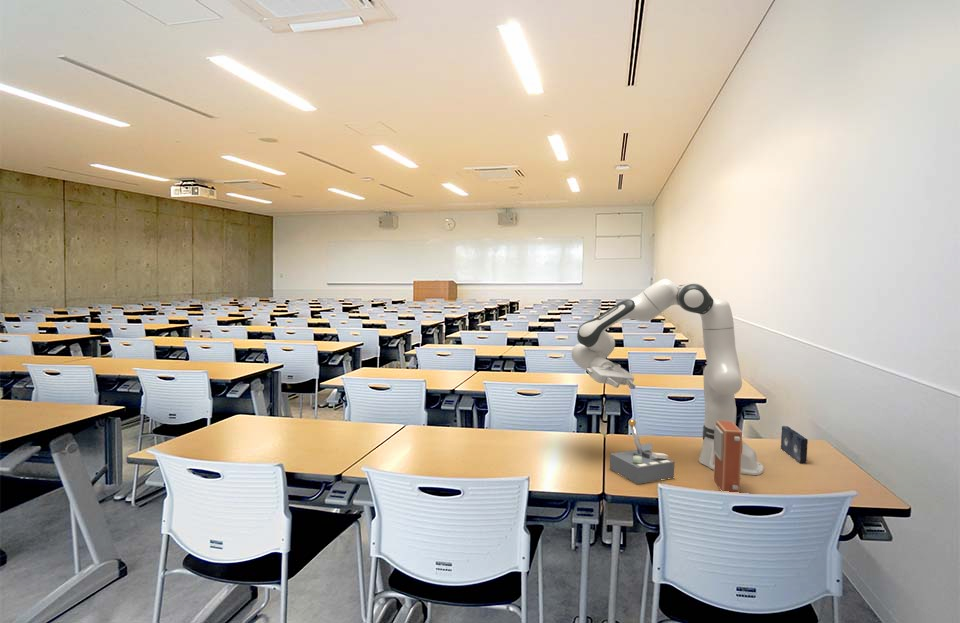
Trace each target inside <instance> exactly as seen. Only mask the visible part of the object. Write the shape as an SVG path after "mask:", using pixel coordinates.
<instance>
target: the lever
mask: <svg viewBox="0 0 960 623" xmlns="http://www.w3.org/2000/svg"><path fill="white" fill-rule="evenodd" d="M636 424H637V421H636V420H635V419H629V420H628V425H629V426H630V430H631V433H632V437H633V441H634V443H635V447H636V450H637V451H638V454H642V453H643V451H642V447H641V445H642V444H641V441H640V436H639V433H638V430H637V426H636Z"/></svg>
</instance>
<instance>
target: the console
mask: <svg viewBox="0 0 960 623" xmlns="http://www.w3.org/2000/svg"><path fill="white" fill-rule="evenodd" d="M652 453H654V452H653V451H652V450H647V451H643V453H642V454H638V451H637V449H630V450H625V451H619V452H612V453H611V452H610V453H609V470H610V469H611V470H610V471H612V470H613V471H612V472H614V471H615V472H614V473H616V472H617V473H619V474H620V475H619V474H618V475H619V476H621V475H622V476H621V477H623V476H624V477H623V478H625V477H626V478H627V479H626V478H625V479H626V480H628V479H629V480H628V481H630V480H631V481H630V482H632V483H634V484H635V483H636V485H637V484H639V485H643V484H642V483H645V484H648V483H647V482H650V483H653V482H652V481H656V482H660V481H659V480H661V479H668V478H673V477H674V478H675V461H673V460H671V459H669V458H668V459H663V458H655V457H653V456H652ZM636 455H637V456H641V457H642V463H641V464H636V463H633V456H636ZM617 473H616V474H617ZM674 478H673V479H674ZM668 480H669V479H668Z"/></svg>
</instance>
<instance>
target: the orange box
mask: <svg viewBox="0 0 960 623" xmlns="http://www.w3.org/2000/svg"><path fill="white" fill-rule="evenodd" d="M714 427H715V429H714V450H713V451H714V453H715V467H714V470H713V471H714V472H713V480H714V481H715V482H714V483H716V485H717V486H719V487H720V488H719V487H718V488H719V490H720V489H721V490H722V491H729V492H740V491H741V473H740V471H741V454H742V441H743V431H742V430H741V429H740V428H739V427H738V426H737V425H735V424H734V423H733V422H730V421H716V425H715V426H714ZM721 490H720V491H721ZM722 491H721V492H722Z"/></svg>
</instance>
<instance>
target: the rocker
mask: <svg viewBox="0 0 960 623" xmlns="http://www.w3.org/2000/svg"><path fill="white" fill-rule="evenodd" d="M652 456H653V457H655V458H663V459H669V455H668V454H665V453H663V452H662V453H661V452H653V453H652Z"/></svg>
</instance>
